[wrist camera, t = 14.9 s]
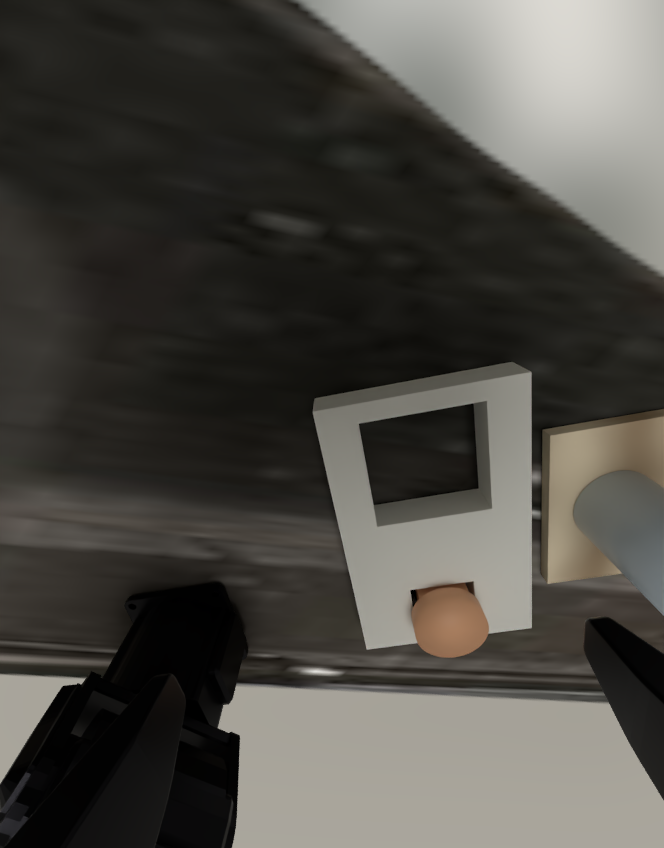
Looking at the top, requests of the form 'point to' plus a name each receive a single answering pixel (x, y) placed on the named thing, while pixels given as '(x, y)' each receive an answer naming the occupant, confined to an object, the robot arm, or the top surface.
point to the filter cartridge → (627, 527)
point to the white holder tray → (436, 503)
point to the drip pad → (579, 466)
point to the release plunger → (448, 620)
